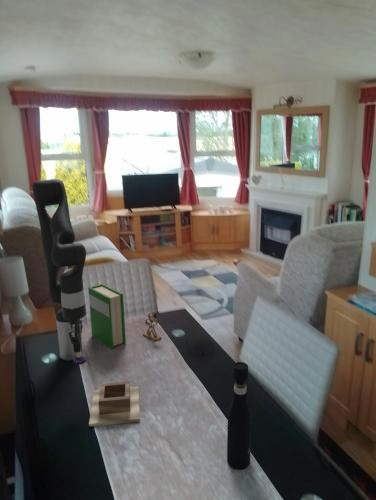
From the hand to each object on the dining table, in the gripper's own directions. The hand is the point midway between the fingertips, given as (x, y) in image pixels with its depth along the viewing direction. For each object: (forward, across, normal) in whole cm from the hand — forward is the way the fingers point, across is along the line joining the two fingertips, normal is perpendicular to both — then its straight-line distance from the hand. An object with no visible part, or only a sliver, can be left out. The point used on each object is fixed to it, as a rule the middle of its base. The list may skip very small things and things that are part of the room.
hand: (77, 349), depth 134 cm
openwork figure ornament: (+20, -42, +27) cm, 54 cm away
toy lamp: (+5, 0, 0) cm, 5 cm away
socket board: (+19, +6, +12) cm, 23 cm away
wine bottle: (+19, +37, +47) cm, 62 cm away
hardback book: (+20, -44, +7) cm, 48 cm away
